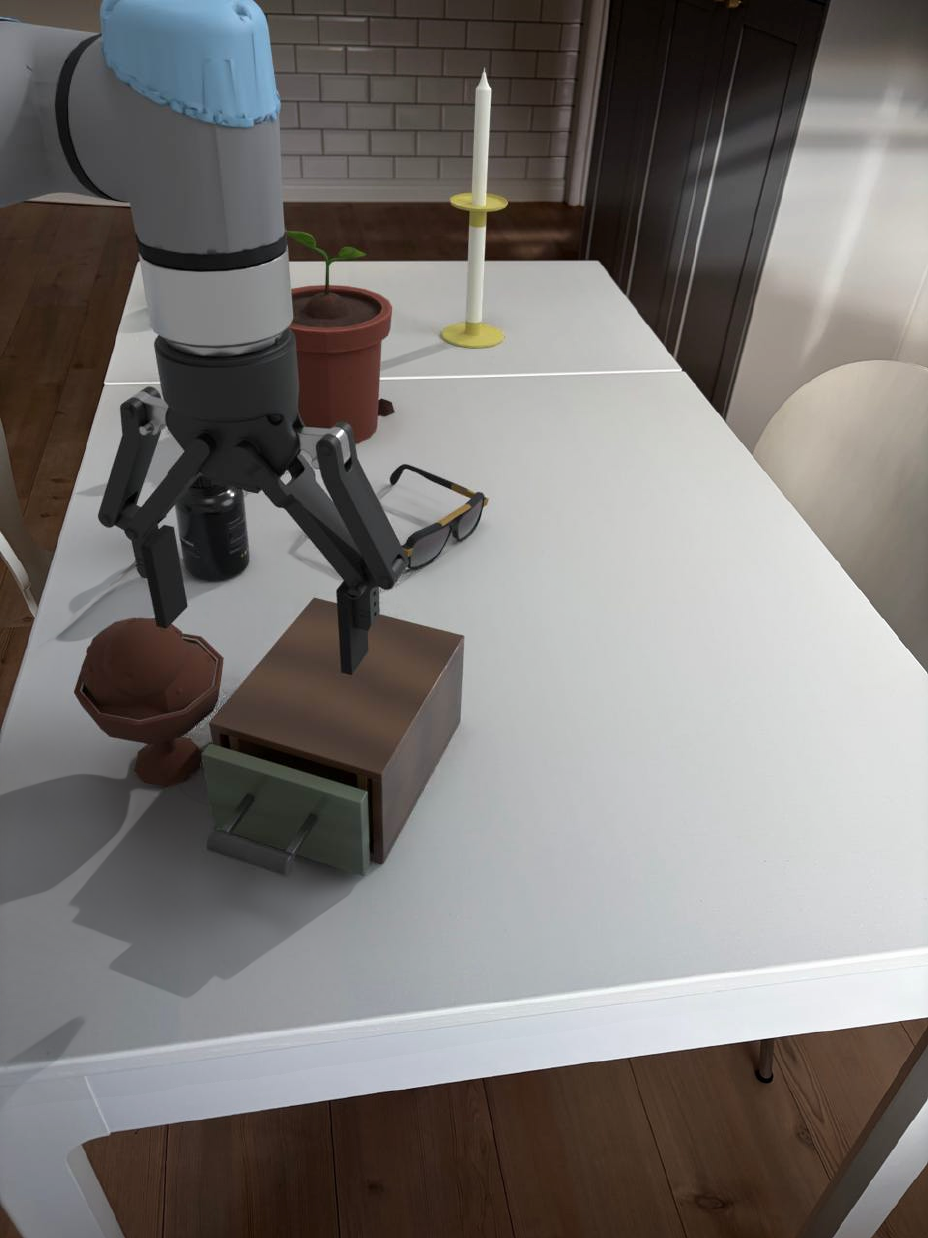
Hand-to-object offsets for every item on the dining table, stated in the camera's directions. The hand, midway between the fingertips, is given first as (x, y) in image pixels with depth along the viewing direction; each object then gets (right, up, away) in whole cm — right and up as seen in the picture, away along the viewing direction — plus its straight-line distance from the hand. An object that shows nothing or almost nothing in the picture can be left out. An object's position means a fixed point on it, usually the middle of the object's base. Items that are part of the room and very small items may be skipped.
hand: (261, 638), depth 66 cm
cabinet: (+4, -11, +15) cm, 19 cm away
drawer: (+2, -13, +11) cm, 17 cm away
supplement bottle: (-12, +7, +38) cm, 40 cm away
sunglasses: (+7, +11, +44) cm, 46 cm away
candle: (+15, +46, +90) cm, 102 cm away
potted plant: (-5, +28, +66) cm, 72 cm away
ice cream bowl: (-11, -11, +15) cm, 21 cm away
